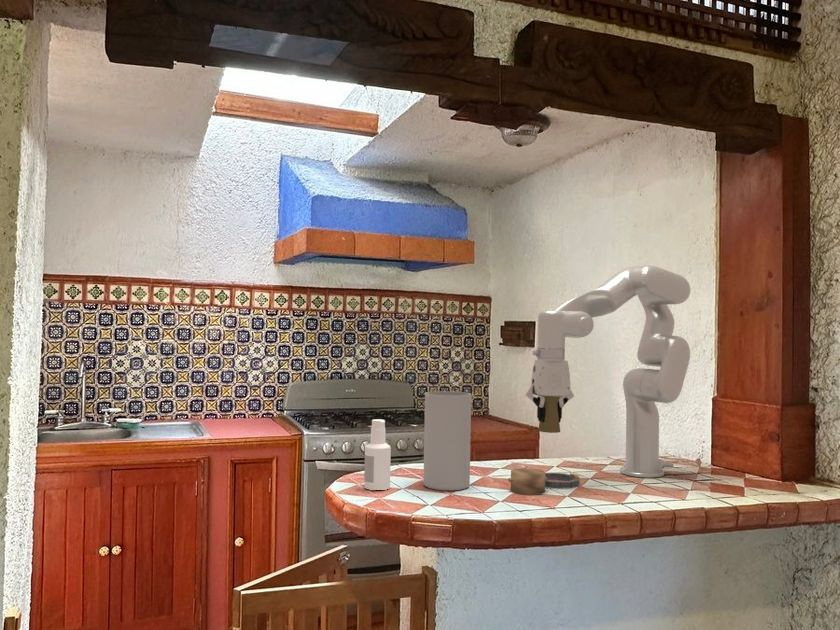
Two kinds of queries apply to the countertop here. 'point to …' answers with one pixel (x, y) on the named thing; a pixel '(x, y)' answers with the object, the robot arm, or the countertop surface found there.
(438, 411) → the cylinder vase
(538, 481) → the pot
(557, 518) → the countertop surface
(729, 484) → the countertop surface
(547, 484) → the collar
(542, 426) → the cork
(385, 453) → the spray bottle
